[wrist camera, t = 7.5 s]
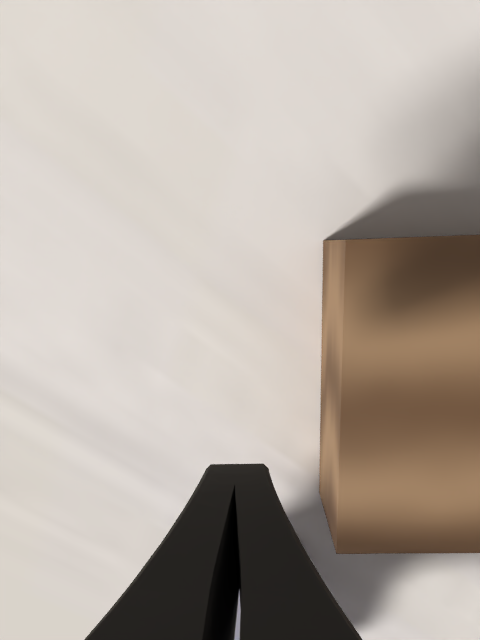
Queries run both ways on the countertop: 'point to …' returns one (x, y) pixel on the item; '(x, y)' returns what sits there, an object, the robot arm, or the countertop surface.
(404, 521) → the board
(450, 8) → the countertop surface
